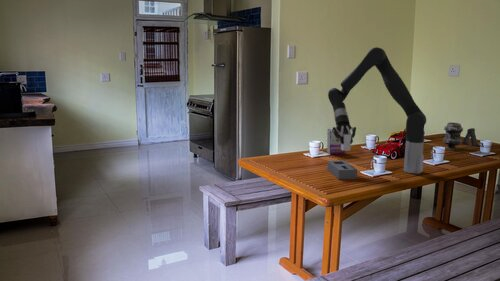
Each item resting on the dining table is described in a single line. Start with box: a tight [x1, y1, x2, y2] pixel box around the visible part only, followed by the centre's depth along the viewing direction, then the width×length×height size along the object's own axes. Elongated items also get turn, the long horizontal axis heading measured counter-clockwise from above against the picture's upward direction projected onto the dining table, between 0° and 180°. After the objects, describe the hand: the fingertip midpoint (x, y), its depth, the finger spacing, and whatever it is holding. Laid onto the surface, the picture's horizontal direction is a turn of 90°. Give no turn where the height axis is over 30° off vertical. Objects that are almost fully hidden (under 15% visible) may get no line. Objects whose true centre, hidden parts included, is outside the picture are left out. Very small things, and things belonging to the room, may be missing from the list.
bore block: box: [326, 160, 358, 180], centre depth 229 cm, size 10×20×5 cm, turn 7°
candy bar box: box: [326, 128, 346, 155], centre depth 278 cm, size 11×5×16 cm, turn 105°
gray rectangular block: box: [341, 133, 352, 152], centre depth 231 cm, size 4×4×9 cm
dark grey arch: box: [461, 127, 479, 147], centre depth 305 cm, size 9×6×12 cm, turn 40°
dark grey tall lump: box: [442, 121, 464, 151], centre depth 291 cm, size 12×12×18 cm
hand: (347, 143), depth 229 cm, fingers closed on gray rectangular block, 4 cm apart
